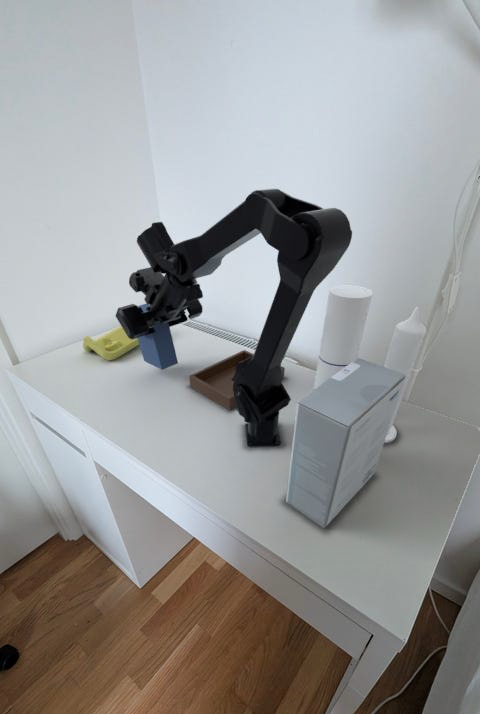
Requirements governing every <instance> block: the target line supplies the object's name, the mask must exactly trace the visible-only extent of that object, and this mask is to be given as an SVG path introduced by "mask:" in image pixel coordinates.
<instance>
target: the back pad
mask: <svg viewBox="0 0 480 714" xmlns="http://www.w3.org/2000/svg"><path fill="white" fill-rule="evenodd" d="M137 307H138V308H139V307H141V308H142V310H143V312H144V313H146V312H147V310H146V308H147V307H150V304H148V305H147V303H143V304H140V305H137ZM153 328H154V330H155V332H154V333H152V334H149V335H146V336H141V337H139V338H138V342H139V345H138V346H139V347H140V352H141V355H142V358H143V362H145V363H147V364H149V365H151V366H153V367H156V368H157V369H160V370H162V371H163V370H165V369H168V368H170V367H173V366H175V365H177V364H179V362H178V357H177V353H176V349H175V345H174V340H173V335H172V332H171V327H169V323H168V322H167V323H164V324H161V323H160V321H159V322H156V323H154V326H153Z"/></svg>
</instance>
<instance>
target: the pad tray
mask: <svg viewBox="0 0 480 714" xmlns="http://www.w3.org/2000/svg"><path fill="white" fill-rule="evenodd" d="M253 355H254V353H253V352H250V351H248V350H246V349H243V350H241V351H239V352H237V353H234V354H233V355H230V356H229V357H226V358H224V359H222V360H219V361H218V362H216V363H213V364H212V365H209V366H207V367H205V368H203V369H201V370H198V371H196V372H194V373H192V374H190V375H188V378H189V379H188V380H189V387H190V388H191V389H193V390H194V391H195V392H198V393H200V394H202V395H203V396H205V397H207V398H208V399H210V400H211V401H213V402H215V404H218V405H220V406H222V407H223V408H224V409H227V410H228V411H231V410H234V409H235V408H237V404H236V400H235V397H234V392H233V383H234V381H232V380H231V379H232V378H233V377H234V375H235V370H236V366H237V364H238V363H239V362H241V361H243V360H245V359H247V358H249V357H251V356H253ZM281 369H282V373H283V377H282V380H284V378H285V369H286V368H285V367H284V366H282V365H281Z"/></svg>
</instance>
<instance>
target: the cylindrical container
mask: <svg viewBox="0 0 480 714" xmlns="http://www.w3.org/2000/svg"><path fill="white" fill-rule="evenodd" d="M327 295H328V297H327V302H326V307H325V308H326V309H325V313H324V314H325V316H324V321H323V326H322V327H323V328H322V334H321V339H320V346H319V352H318V360H317V365H316V372H315V379H314V385H313V390H314V389H315V388H317V387H318V386H319V385H321V384H322V383H324V382H325V381H327V380H328V379H329V378H331V377H332V376H333V375H335V374H336V373H337V372H339V371H340V370H342V369H343V368H344V367H346V366H347V365H349V364H350V363H351V362H353V361H354V360H356V359H357V358H359V357H358V355H359V352H360V348H361V343H362V340H363V335H364V331H365V326H366V322H367V318H368V314H369V310H370V306H371V301H372V298H373V297H372V296H373V291H372V290H371V289H369V288H367V287H364V286H361V285H355V284H338V285H333V286H331V287H329V290H328V294H327Z"/></svg>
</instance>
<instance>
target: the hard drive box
mask: <svg viewBox="0 0 480 714" xmlns="http://www.w3.org/2000/svg"><path fill="white" fill-rule="evenodd" d="M404 380H405V374H402V373H399V372H397V371H394V370H391V369H388V368H385V367H384V366H382V365H379V364H377V363H374V362H371V361H368V360H366V359H363V358H359V357H357V359H356V360H354V361H353V362H351V363H350V364H349V365H347V366H346V367H344V368H343V369H342V370H340V371H339V372H337V373H336V374H335V375H333V376H332V377H331V378H329V379H328V380H327V381H325V382H324V383H322V384H321V385H319V386H318V387H317V388H315V389H314V388H313V390H311V391H309V392H308V393H307V394H305V395H304V396H303V397H301V398H300V399H298V400H297V401H296V408H295V419H294V427H293V437H292V445H291V454H290V455H291V456H290V463H289V470H288V479H287V481H288V483H287V489H286V490H287V491H286V500H285V502H286V503H287V504H288V505H289V506H291V507H292V508H294V509H295V510H297V511H298V512H299V513H301V514H302V515H304V516H305V517H307V518H308V519H310V520H311V521H312V522H314V523H315V524H317V525H318V526H319V527H321V528H323V529H326V528H327V526H329V524H330V523H331V522H332V521H333V520H334V519H335V517H336V516H337V515H338V514H339V513H340V512H341V511H342V510H343V509H344V508H345V507H346V505H347V504H348V503H349V502H350V501H351V500H352V499H353V498H354V497H355V495H356V494H357V493H358V492H359V491H360V490H361V489H362V488H363V487H364V486H365V485H366V484H367V482H368V481H369V480H370V479H371V478H372V477H373V476H374V474H375V471H376V469H377V466H378V463H379V460H380V456H381V453H382V450H383V447H384V445H385V443H384V441H385V438H386V435H387V432H388V429H389V426H390V423H391V420H392V417H393V414H394V411H395V408H396V405H397V402H398V399H399V396H400V393H401V390H402V387H403V384H404Z"/></svg>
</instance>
